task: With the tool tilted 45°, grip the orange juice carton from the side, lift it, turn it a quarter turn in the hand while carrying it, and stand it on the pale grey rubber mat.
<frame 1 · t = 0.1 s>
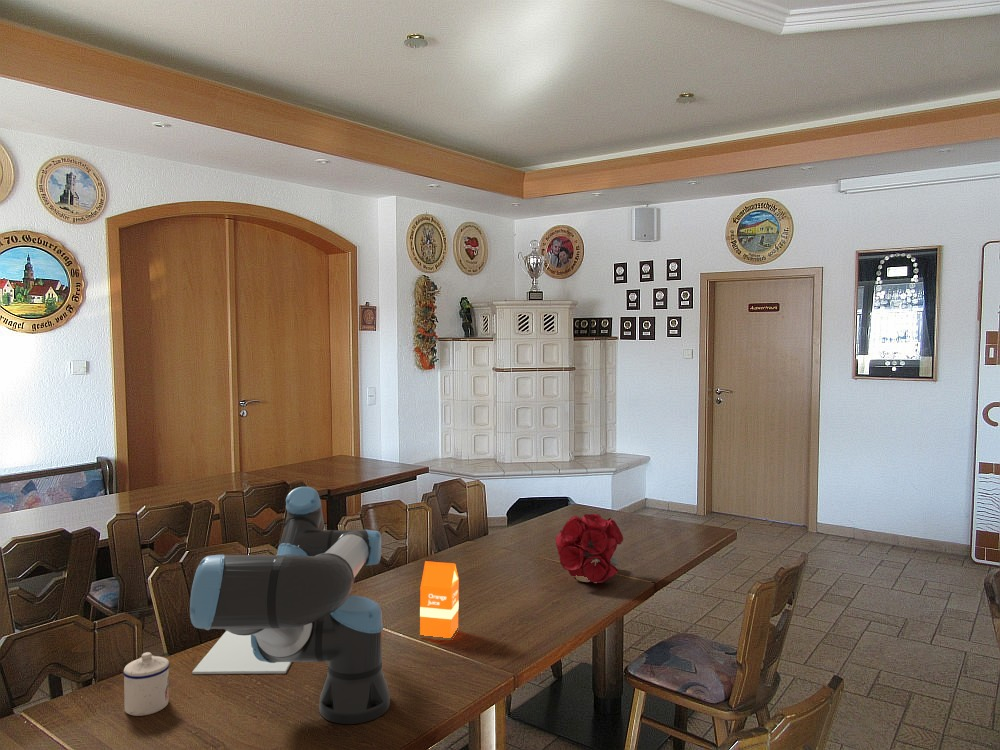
hand: (320, 592, 184), 15 cm above the table, tool tilted 35°, fingers open, 13 cm apart
teacup with lid: (144, 704, 156), on the table
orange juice: (439, 634, 196), on the table
rubber mat: (256, 648, 185), on the table
bouquet: (594, 580, 243), on the table
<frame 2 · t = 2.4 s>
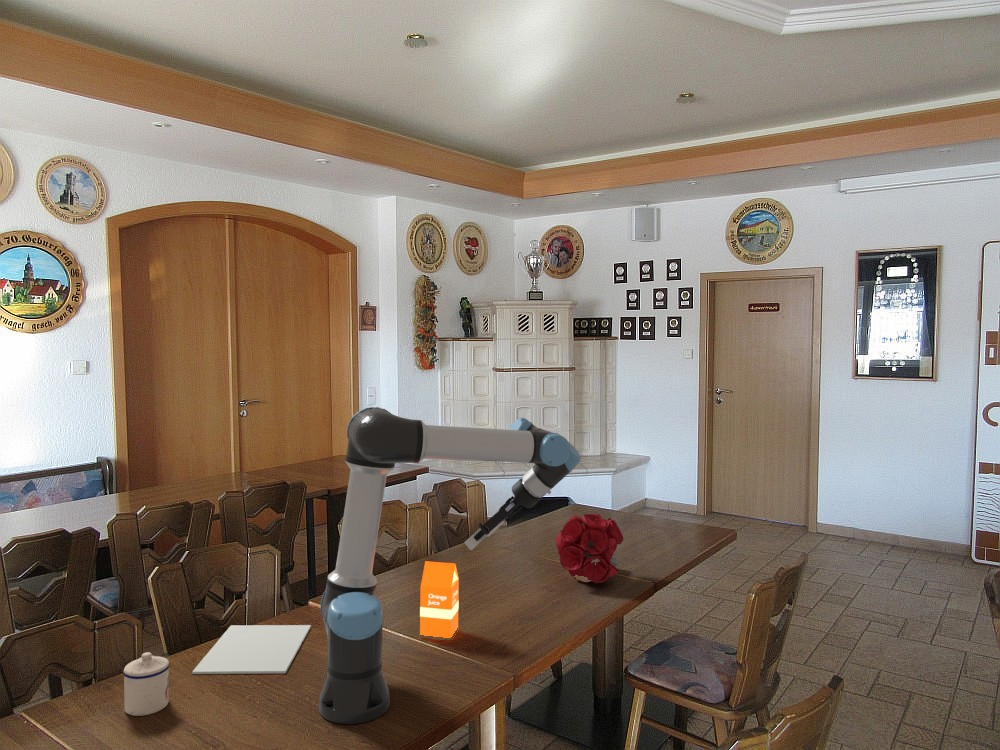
hand: (476, 539, 191), 27 cm above the table, tool tilted 45°, fingers open, 13 cm apart
nothing on the table moved.
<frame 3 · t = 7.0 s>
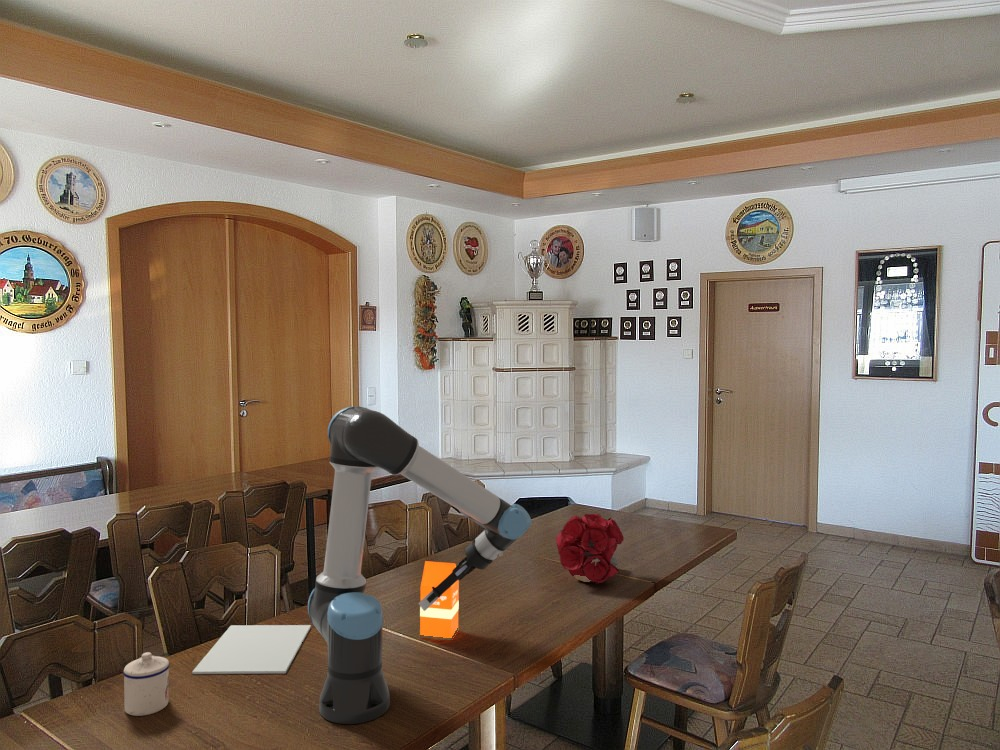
hand: (428, 601, 196), 9 cm above the table, tool tilted 45°, fingers closed on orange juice, 8 cm apart
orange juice: (439, 634, 196), on the table, touching gripper
everything else where it was.
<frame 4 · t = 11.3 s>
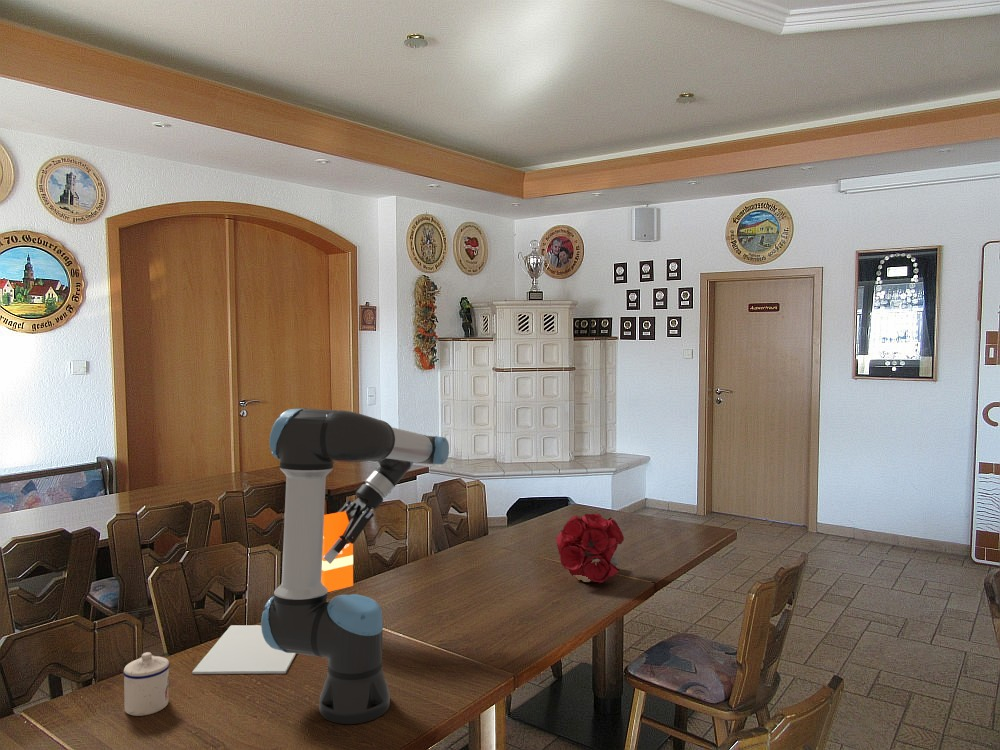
hand: (320, 556, 193), 22 cm above the table, tool tilted 45°, fingers closed on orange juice, 8 cm apart
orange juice: (331, 586, 195), point 13 cm above the table, touching gripper
everything else where it was.
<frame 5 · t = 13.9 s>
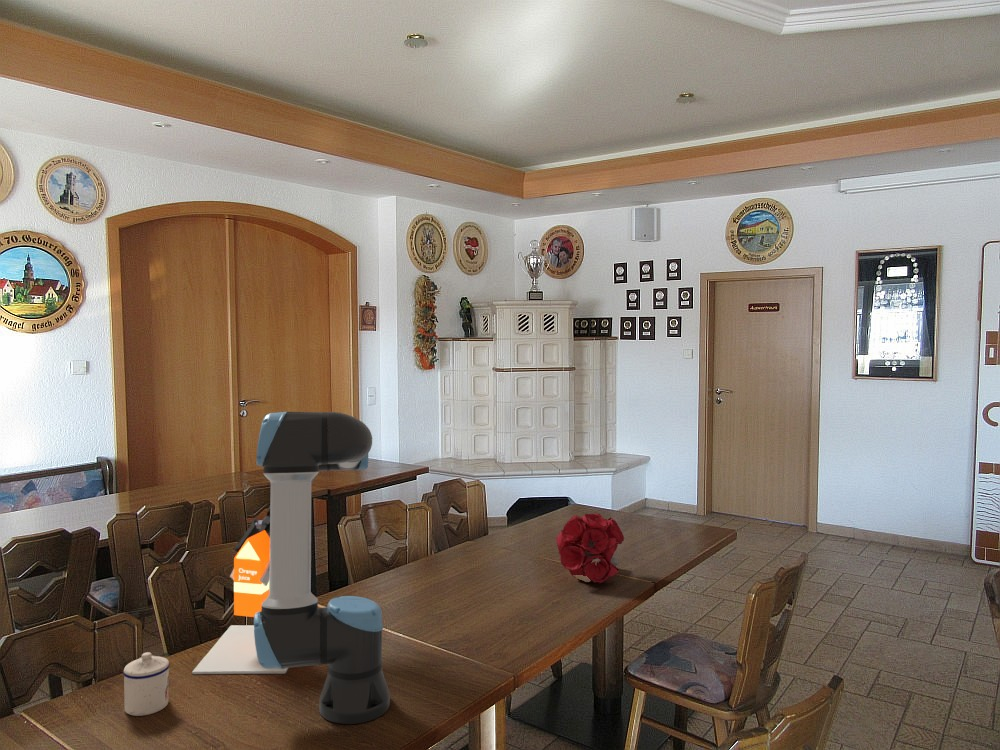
hand: (248, 581, 181), 19 cm above the table, tool tilted 45°, fingers closed on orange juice, 8 cm apart
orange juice: (256, 610, 185), point 10 cm above the table, touching gripper
everything else where it was.
when the fingers open (11 cm above the table, at t = 16.0 s): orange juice drops 1 cm, resting on rubber mat.
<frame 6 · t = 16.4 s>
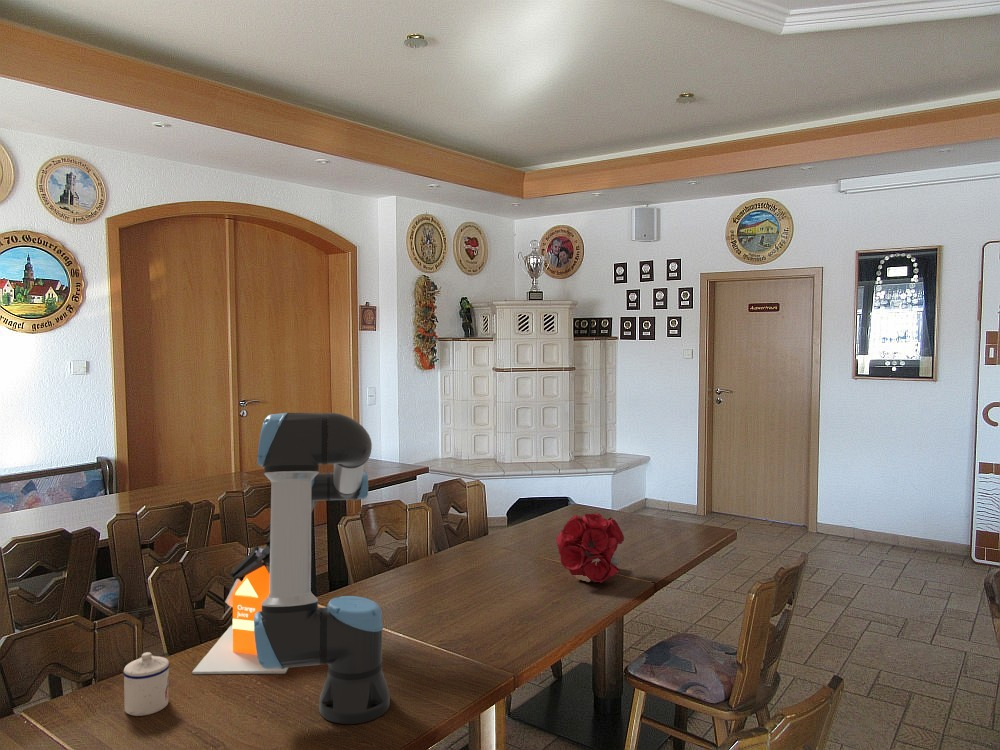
hand: (250, 608, 182), 12 cm above the table, tool tilted 45°, fingers open, 13 cm apart
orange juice: (255, 647, 185), resting on rubber mat
everything else where it was.
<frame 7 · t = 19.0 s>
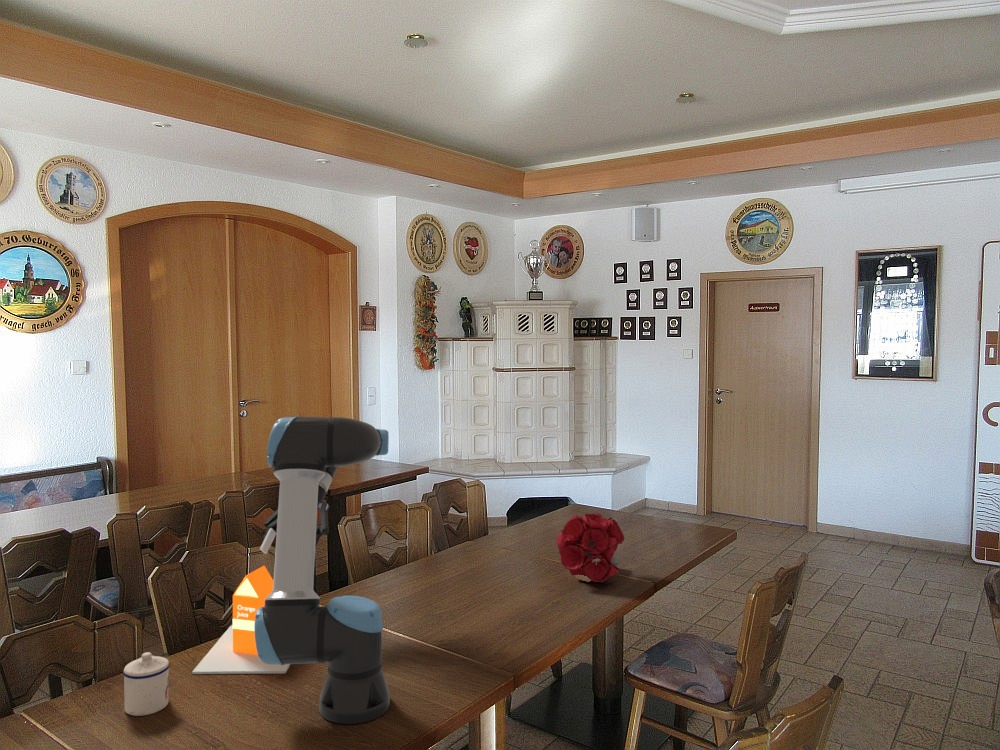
hand: (283, 553, 194), 22 cm above the table, tool tilted 45°, fingers open, 13 cm apart
nothing on the table moved.
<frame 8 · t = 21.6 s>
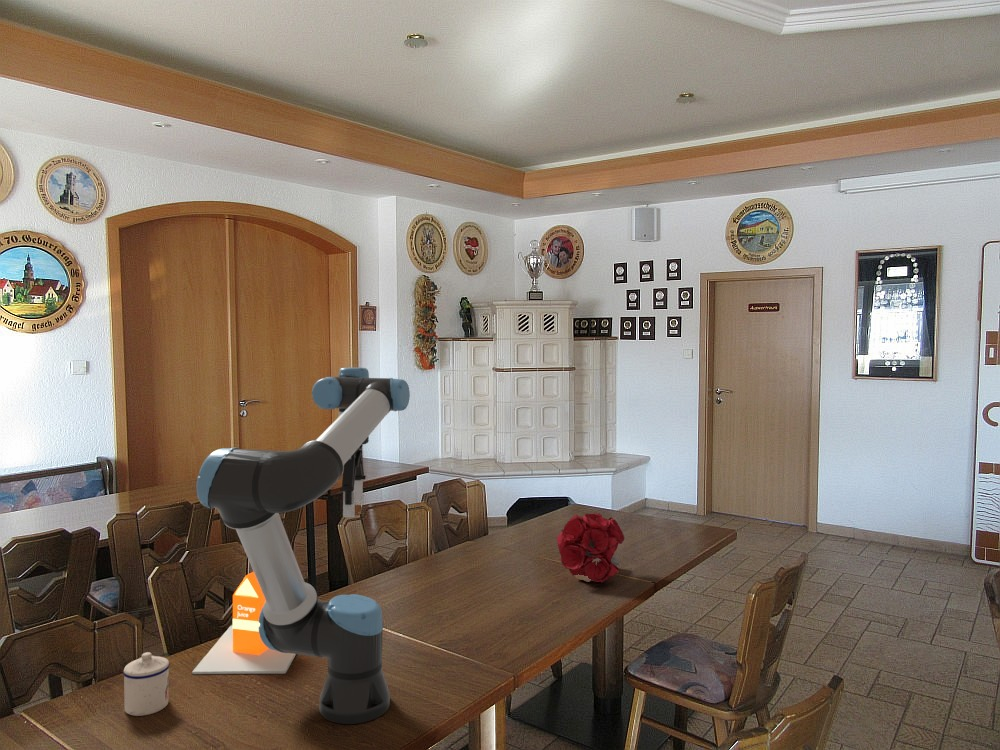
hand: (353, 510, 182), 37 cm above the table, tool pointing down, fingers open, 13 cm apart
at the end: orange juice inside the target area on the rubber mat (0.4 cm from its centre), point 0.4 cm above the rubber mat's base; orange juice touching rubber mat; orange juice tilted 0° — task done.
